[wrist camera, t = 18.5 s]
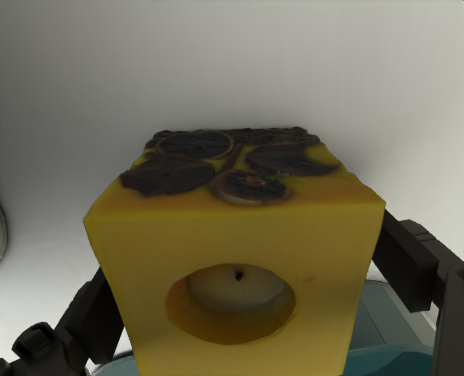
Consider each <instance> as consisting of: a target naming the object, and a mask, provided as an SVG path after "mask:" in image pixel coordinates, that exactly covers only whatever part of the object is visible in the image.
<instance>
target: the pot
mask: <svg viewBox="0 0 464 376" xmlns="http://www.w3.org/2000/svg"><path fill="white" fill-rule="evenodd" d="M435 334H436V325H435V323H434V322H433V321H432V319H431V318H430V317H429V316H428V314H427V313H426V312H425V311H422V312H416V313H410V312H409V311H408V309H407V308H406V307H405V305H404V304H403V302H402V301H401V300H400V298H399V297H398V296H397V294H396V293H395V291H394V290H393V289H392V287H391V286H390V284H387V283H383V282H378V281H371V280H365V283H364V287H363V291H362V294H361V298H360V302H359V306H358V310H357V314H356V318H355V322H354V326H353V331H352V337H351V341H350V345H349V349H348V352H347V357H346V362H345V366H344V370H343V374H342V375H339V376H430V371H431V363H432V356H433V348H434V341H435Z"/></svg>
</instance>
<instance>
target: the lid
mask: <svg viewBox="0 0 464 376" xmlns="http://www.w3.org/2000/svg"><path fill="white" fill-rule="evenodd" d="M92 376H140V375H139V371H138V368H137V365H136V361H135V358H134V355H132V356H128V357H124V358H121V359H117V360H115V361H112V362H110V363H108V364H106V365H104V366H103V367H101V368H99V369H98V370H97V371H96V372H95V373H94V374H93V375H92Z"/></svg>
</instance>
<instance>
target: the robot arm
mask: <svg viewBox="0 0 464 376" xmlns="http://www.w3.org/2000/svg"><path fill="white" fill-rule="evenodd" d="M6 245H7V228H6V223H5V219H4V216H3V214H2V211H1V209H0V260H1V258H2V257H3V255H4V252H5V250H6ZM372 261H373V262H374V264H375V265H376V266H377V268H378V269H379V271H380V272H381V273H382V275H383V276H384V277H385V279H386V280H387V282H388V283H389V284H390V286H391V287H392V289H393V290H394V291H395V293H396V294H397V296H398V297H399V298H400V300H401V301H402V302H403V304H404V305H405V307H406V308H407V309H408V311H409V312H410V313H416V312H422V311H429V310H430V307H431V301H433V302H434V304H435V305H436V306H437V307H438V308H439V312H438V317H437V321H436V334H435V341H434V348H433V356H432V363H431V371H430V376H464V262H463V261H462V260H461V259H460V258H459V257H458V256H456V255H455V254H454V253H453V252H452V251H451V250H450V249H448V248H447V247H446V246H445V245H444V244H443V243H441V242H440V241H439V240H437V239H436V237H434V236H433V235H432V234H431V233H429V231H427V230H426V229H425V228H424V227H423V226H422V225H420V224H418V223H416V222H414V221H412V220H409V219H408V220H403V221H398V220H396V219H395V218H394V217H393V216H392V215H391V214H390V213H389V212H388V211H387V210H386V209H385V210H384V216H383V221H382V226H381V230H380V234H379V237H378V240H377V243H376V246H375V249H374V253H373V256H372ZM123 329H124V323H123V320H122V317H121V315H120V312H119V309H118V306H117V304H116V301H115V298H114V295H113V293H112V290H111V287H110V285H109V283H108V281H107V279H106V277H105V275H104V273H103V271H102V269H101V267H99V269H98V271H97V272H96V274H95V276H94V277H93V279H92V281H88V282H86V283H85V284H84V285H83V286H82V287H81V288H80V289H79V290H78V292H77V294H76V295H75V297H74V298H73V301H72V302H71V303H70V305H69V308H67V310H66V311H65V313H64V314H63V316H62V318H61V319H60V321H59V322H58V324H57V326H56V327H55V329H54V330H53V329H52V328H51V327H50V325H49V324H48V323H47V322H40V323H36V324H35V325H33V326H31V327H29V328H28V329H27V330H25V331H24V332H23V333H22V334H21V335H20V336H19V337H18V338H17V339H16V341H15V342H14V344H13V347H12V351H13V352H14V353H15V354H16V355H18V356H19V357H20V359H18V360H16V361H13V362H11V363H8V362H7V361H5V360H4V359H3V358H0V376H90V373H89V370H88V369H87V368H86V367H85V365H86V363H87V361H88V359H89V358H90V359H91V360H92V362H93V363H94V364H95V365H97V364H103V363H110V362H111V361H112V358H113V356H114V353H115V350H116V347H117V345H118V342H119V339H120V337H121V334H122V331H123Z"/></svg>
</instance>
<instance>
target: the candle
mask: <svg viewBox="0 0 464 376" xmlns="http://www.w3.org/2000/svg"><path fill="white" fill-rule="evenodd" d="M385 205H386V202H385V201H384V200H383V199H382V198H381V197H380V196H379V195H377V194H376V193H375V192H374V191H373V190H372V189H371V188H369V187H368V186H366V185H364V184H363V183H361V182H360V181H359V179H358V178H357V177H356V176H355V174H353V173H350V172H347V170H346V169H345V167H344V165H343V163H342V162H340V161H339V160H338V159H336V158H335V157H334V156H333V155H332V154H331V153H330V152H329V151H328V149H327V147H326V145H325V144H324V143H322V142H320V139H319V138H318V137H317V136H316V135H311V134H308V132H307V130H305V129H302V128H299V127H294V128H292V129H278V128H272V129H268V130H263V129H255V130H251V129H250V128H246V129H234V130H221V131H211V130H209V131H204V130H197V131H194V132H182V131H178V132H171V131H166V130H164V131H162V132H159V133H156V134H155V135H154V137H153V139H152V140H150V141H149V142H148V143H147V144H146V146H145V149H144V153H143V154H142V155H141V157H140V158H139V159H137V160H136V161H135V162H134V163H133V164H132V167H131V170H127V171H125V172H124V173H122V174H120V175H119V176H118V177H117V178H116V179H115V180H114V181H113V182H112V183H111V185H110V186H109V187H108V188H107V189H106V190H105V191H104V193H103V194H102V195H101V196H100V197H99V198H98V199H97V200H96V201H95V203H94V204H93V205H92V207H91V208H90V210H89V211H88V213H87V214H86V216H85V217H84V219H83V223H84V226H85V229H86V232H87V236H88V239H89V242H90V245H91V247H92V249H93V252H94V254H95V256H96V258H97V260H98V262H99V264H100V267H101V269H102V271H103V273H104V275H105V277H106V279H107V281H108V283H109V285H110V287H111V290H112V293H113V295H114V298H115V301H116V304H117V306H118V309H119V312H120V315H121V317H122V320H123V323H124V326H125V329H126V332H127V334H128V337H129V340H130V343H131V346H132V350H133V354H134V358H135V361H136V365H137V368H138V371H139V375H140V376H339V375H342V374H343V370H344V366H345V362H346V357H347V352H348V349H349V345H350V341H351V337H352V331H353V326H354V322H355V318H356V314H357V310H358V306H359V302H360V298H361V294H362V291H363V287H364V283H365V280H366V276H367V272H368V269H369V266H370V262H371V259H372V256H373V253H374V249H375V246H376V243H377V240H378V237H379V234H380V230H381V226H382V221H383V216H384V210H385Z"/></svg>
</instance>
